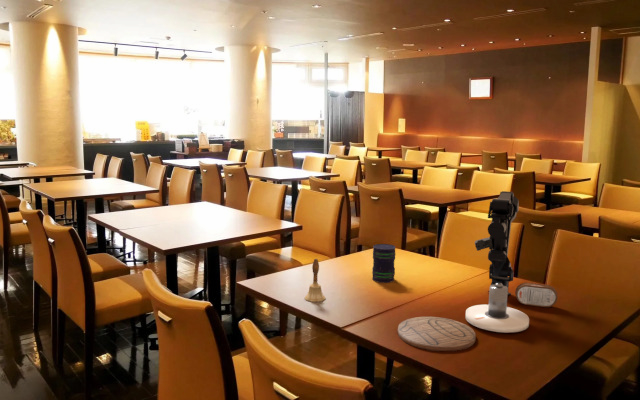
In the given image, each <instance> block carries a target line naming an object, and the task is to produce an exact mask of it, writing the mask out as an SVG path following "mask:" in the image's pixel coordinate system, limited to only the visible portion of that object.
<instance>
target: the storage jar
mask: <svg viewBox="0 0 640 400" xmlns="http://www.w3.org/2000/svg"><path fill="white" fill-rule="evenodd" d="M372 246H373V247H372V259H373V263H372V264H373V265H372V269H371V270H372V271H371V274H372V281H373V282H375V283H376V282H377V283H380V284H381V283H382V284H384V283H386V284H389V283H392V282H394V281H395V273H396V272H395V271H396V267H395V261H396V246H395V245H393V244H388V243H377V244H374V245H372Z"/></svg>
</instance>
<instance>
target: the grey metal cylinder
mask: <svg viewBox="0 0 640 400" xmlns="http://www.w3.org/2000/svg"><path fill="white" fill-rule="evenodd" d="M488 291H489V292H488V305H489V306H488V315H490V316H492V317H496V318H504V317H506V310H507V307H508V296H509V295H508V292H509V287H506V286H504V285H503V284H502V283H495V284H494V285H491V284H490V285H489V290H488Z"/></svg>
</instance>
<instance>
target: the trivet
mask: <svg viewBox="0 0 640 400" xmlns="http://www.w3.org/2000/svg"><path fill="white" fill-rule="evenodd" d="M397 335H398V337H399V339H400V340H402V341H403V342H404V343H406V344H408V345H409V346H412V347H416V348H418V349H421V350H425V349H426V350H425V351H433V352H439V351H452V352H458V351H457V350H460V351H463V350H466V349H469V348H470V347H473V345H474V344H475V342H476V332H475V331H474V329H473V328H472V327H470V326H469V325H468V324H465V323H463V322H460V321H457V320H454V319H450V318H446V317H441V316H440V317H438V316H418V317H416V316H415V317H411V318H407V319H405V320H402V321H401V322H400V323H399V324H398V327H397ZM462 349H463V350H462Z"/></svg>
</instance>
